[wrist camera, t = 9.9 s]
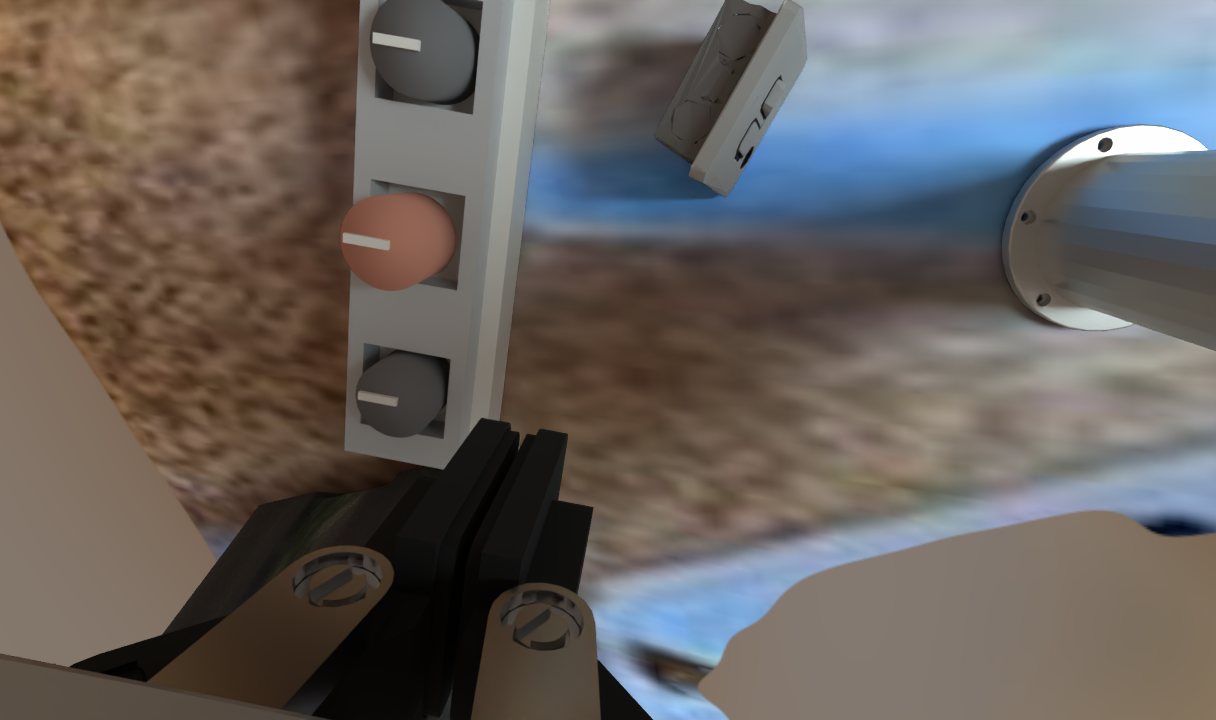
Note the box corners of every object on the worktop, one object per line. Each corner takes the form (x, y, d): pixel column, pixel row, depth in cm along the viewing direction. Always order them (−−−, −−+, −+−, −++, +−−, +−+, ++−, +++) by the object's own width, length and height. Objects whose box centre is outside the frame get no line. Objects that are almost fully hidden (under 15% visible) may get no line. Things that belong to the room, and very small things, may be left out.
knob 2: (458, 351, 41) (435, 371, 37) (451, 419, 42) (429, 446, 38) (385, 337, 41) (354, 356, 37) (381, 406, 43) (351, 431, 39)
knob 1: (489, 17, 35) (466, -2, 31) (480, 111, 36) (457, 105, 32) (403, 3, 35) (369, -19, 31) (398, 97, 36) (365, 88, 32)
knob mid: (460, 200, 35) (433, 204, 31) (452, 284, 37) (426, 299, 33) (375, 185, 36) (338, 187, 31) (371, 270, 37) (335, 283, 33)
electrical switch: (725, 199, 41) (729, 199, 32) (657, 160, 41) (642, 149, 32) (807, 61, 38) (836, 19, 29) (734, 19, 38) (741, -36, 29)
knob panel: (551, -6, 38) (529, -40, 31) (498, 434, 47) (473, 475, 41) (392, -33, 38) (339, -72, 32) (370, 410, 47) (326, 447, 41)
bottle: (352, 647, 55) (14, 1176, 26) (275, 486, 50) (-234, 910, 22) (543, 613, 52) (398, 1163, 23) (479, 439, 47) (202, 855, 19)
